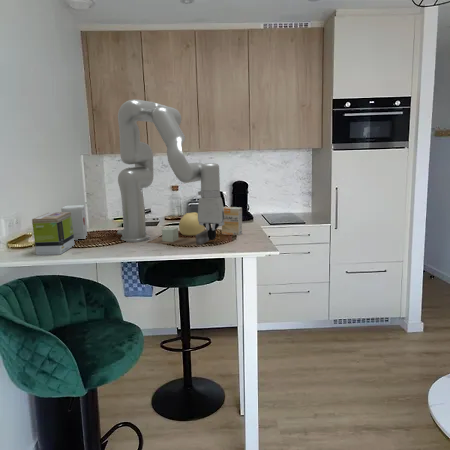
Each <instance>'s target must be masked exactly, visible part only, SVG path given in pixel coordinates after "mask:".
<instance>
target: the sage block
mask: <svg viewBox="0 0 450 450" xmlns="http://www.w3.org/2000/svg"><path fill="white" fill-rule="evenodd" d="M161 237H162V241H165V242H174V241H176V240H178V238H179V227H165V228H163V229H161Z"/></svg>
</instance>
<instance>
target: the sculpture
mask: <svg viewBox="0 0 450 450" xmlns="http://www.w3.org/2000/svg"><path fill="white" fill-rule="evenodd" d="M205 230H206V228H205V227H204V226H202V225H199V221H198V212H186V213H185V214H183V216H182V217H181V219H180V220H179V224H178V231H179V232H180V234H181V235H182V236H190V237H191V236H196V235H197V234H199V233H201V232H203V231H205Z"/></svg>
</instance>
